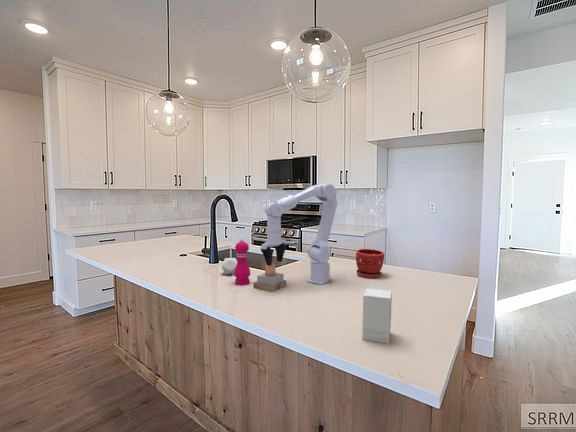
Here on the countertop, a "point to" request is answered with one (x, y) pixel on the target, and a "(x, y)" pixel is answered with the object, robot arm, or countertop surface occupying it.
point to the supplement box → (377, 315)
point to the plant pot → (369, 262)
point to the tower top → (270, 279)
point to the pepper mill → (242, 263)
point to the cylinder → (270, 269)
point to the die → (229, 265)
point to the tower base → (269, 286)
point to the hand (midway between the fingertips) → (274, 263)
